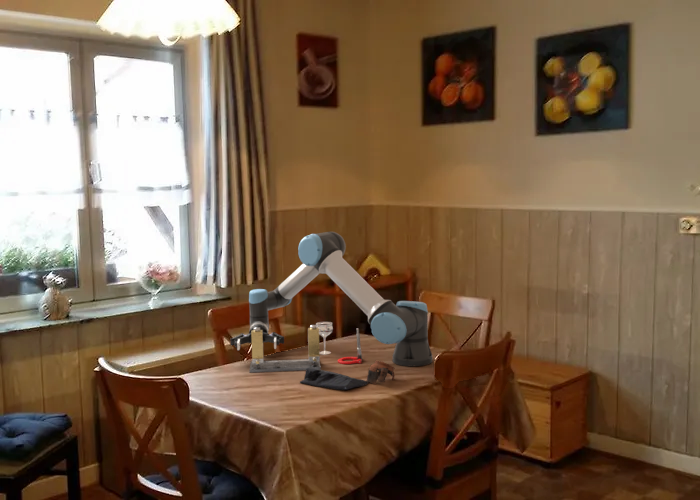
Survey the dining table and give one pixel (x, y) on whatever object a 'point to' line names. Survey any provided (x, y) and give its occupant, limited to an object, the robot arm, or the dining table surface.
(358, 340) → the tow hook
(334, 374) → the dark folded cloth
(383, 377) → the brown crumpled piece
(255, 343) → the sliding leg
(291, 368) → the bolt plate
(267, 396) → the dining table surface
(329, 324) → the wineglass
